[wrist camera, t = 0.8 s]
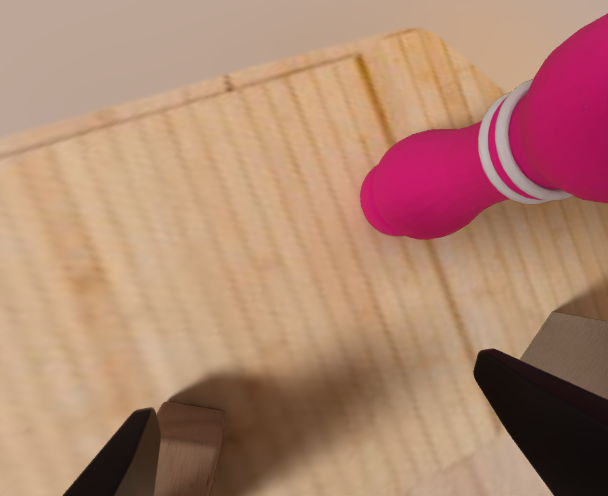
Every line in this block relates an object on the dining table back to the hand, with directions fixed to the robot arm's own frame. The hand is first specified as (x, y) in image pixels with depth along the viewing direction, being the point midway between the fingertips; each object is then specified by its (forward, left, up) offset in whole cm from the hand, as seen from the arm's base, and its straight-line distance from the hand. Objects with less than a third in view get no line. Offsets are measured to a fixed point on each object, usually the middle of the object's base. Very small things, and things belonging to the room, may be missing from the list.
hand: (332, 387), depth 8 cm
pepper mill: (+10, -8, -16) cm, 20 cm away
